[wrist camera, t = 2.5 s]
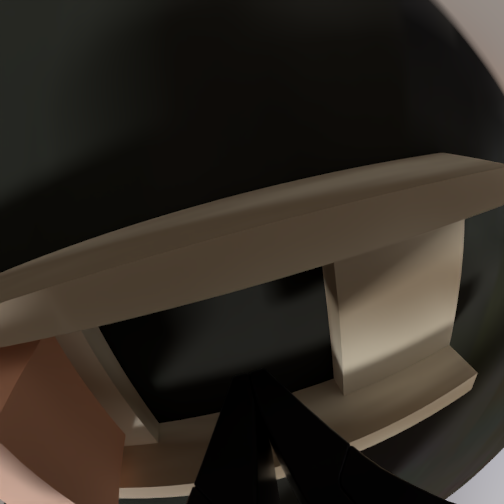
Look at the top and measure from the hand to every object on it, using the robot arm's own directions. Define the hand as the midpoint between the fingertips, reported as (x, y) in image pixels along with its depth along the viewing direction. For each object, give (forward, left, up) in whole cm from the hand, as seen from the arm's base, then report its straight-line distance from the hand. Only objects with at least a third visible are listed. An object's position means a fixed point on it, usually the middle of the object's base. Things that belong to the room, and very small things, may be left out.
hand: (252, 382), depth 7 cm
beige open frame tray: (0, +6, -2) cm, 7 cm away
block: (0, +8, -1) cm, 8 cm away
